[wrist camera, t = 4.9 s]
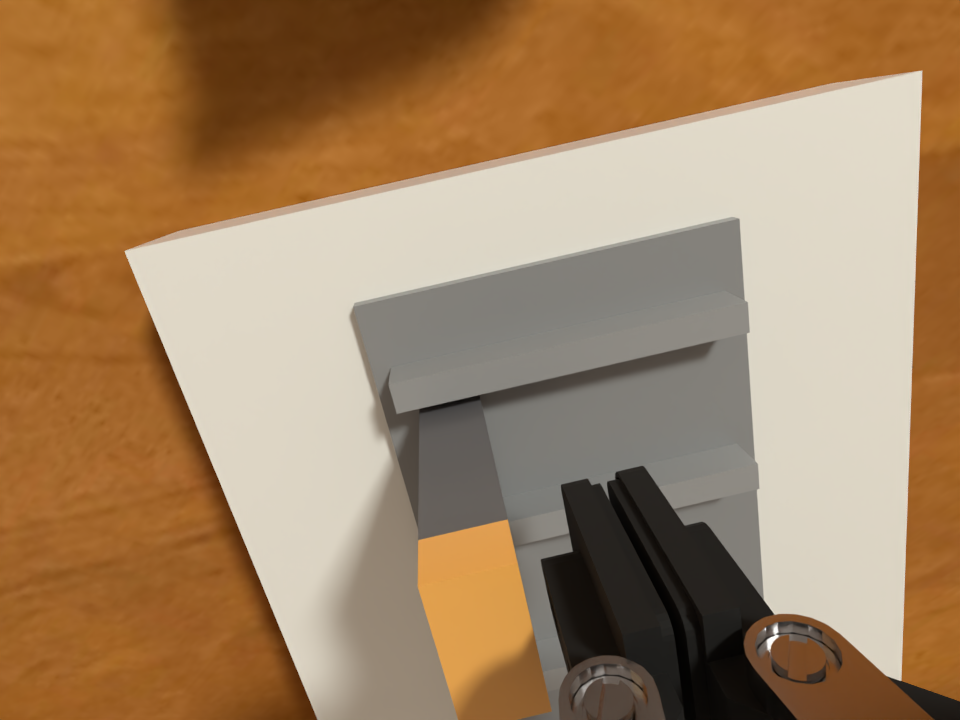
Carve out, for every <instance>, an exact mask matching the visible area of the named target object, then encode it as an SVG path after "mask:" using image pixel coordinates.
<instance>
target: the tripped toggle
mask: <svg viewBox="0 0 960 720" xmlns="http://www.w3.org/2000/svg"><path fill="white" fill-rule="evenodd" d="M418 590H419V593H420V596H421V599H422V603H423V606H424V609H425V613H426V616H427V619H428V622H429V626H430V629H431V632H432V636H433V639H434V642H435V645H436V649H437V652H438V655H439V659H440V662H441V665H442V668H443V672H444V675H445V678H446V682H447V685H448V688H449V691H450V695H451V698H452V701H453V705H454V708H455V711H456V714H457V718H458V720H518V719H522V718H527V717H531V716H535V715H539V714H543V713H548V712H552V710H551V706H550V701H549V697H548V692H547V688H546V684H545V679H544V675H543V670H542V666H541V662H540V657H539V653H538V648H537V644H536V640H535V635H534V631H533V627H532V622H531V618H530V613H529V609H528V605H527V600H526V596H525V591H524V587H523V583H522V578H521V574H520V569H519V565H518V561H517V556H516V552H515V547H514V543H513V539H512V534H511V530H510V525H509V521H508V517H507V512H506V508H505V504H504V499H503V495H502V490H501V486H500V482H499V477H498V473H497V469H496V464H495V460H494V456H493V451H492V447H491V443H490V438H489V434H488V430H487V425H486V421H485V417H484V412H483V408H482V404H481V399H480V395H477V396H473V397H468V398H464V399H460V400H455V401H451V402H447V403H442V404H438V405H434V406H429V407H425V408H421V409H419V501H418Z"/></svg>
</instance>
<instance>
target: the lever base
mask: <svg viewBox="0 0 960 720" xmlns="http://www.w3.org/2000/svg"><path fill="white" fill-rule="evenodd" d="M921 93H922V71H916V72H909V73H902V74H895V75H888V76H881V77H874V78H867V79H860V80H853V81H846V82H838V83H831V84H827V85H823V86H818V87H814V88H809V89H805V90H800V91H796V92H792V93H787V94H783V95H778V96H774V97H769V98H765V99H761V100H756V101H752V102H747V103H743V104H739V105H734V106H730V107H725V108H721V109H716V110H712V111H708V112H703V113H699V114H694V115H690V116H685V117H681V118H677V119H672V120H668V121H663V122H659V123H654V124H650V125H646V126H641V127H637V128H632V129H628V130H623V131H619V132H615V133H610V134H606V135H601V136H597V137H592V138H588V139H584V140H579V141H575V142H570V143H566V144H561V145H557V146H553V147H548V148H544V149H539V150H535V151H531V152H526V153H522V154H517V155H513V156H508V157H504V158H500V159H495V160H491V161H486V162H482V163H477V164H473V165H469V166H464V167H460V168H455V169H451V170H446V171H442V172H438V173H433V174H429V175H424V176H420V177H415V178H411V179H407V180H402V181H398V182H393V183H389V184H384V185H380V186H376V187H371V188H367V189H362V190H358V191H353V192H349V193H345V194H340V195H336V196H331V197H327V198H323V199H318V200H314V201H309V202H305V203H300V204H296V205H292V206H287V207H283V208H278V209H274V210H269V211H265V212H261V213H256V214H252V215H247V216H243V217H238V218H234V219H230V220H225V221H221V222H216V223H212V224H207V225H203V226H199V227H194V228H190V229H185V230H181V231H178V232H175V233H172V234H169V235H167V236H164V237H161V238H159V239H156V240H153V241H150V242H148V243H145V244H142V245H140V246H137V247H134V248H131V249H129V250H126V251H125V253H126V256H127V258H128V261H129V263H130V266H131V268H132V270H133V273H134V275H135V278H136V280H137V283H138V285H139V287H140V290H141V292H142V295H143V297H144V300H145V302H146V304H147V307H148V309H149V312H150V314H151V317H152V319H153V321H154V324H155V326H156V329H157V331H158V334H159V336H160V338H161V341H162V343H163V346H164V348H165V351H166V353H167V355H168V358H169V360H170V363H171V365H172V368H173V370H174V372H175V375H176V377H177V380H178V382H179V385H180V387H181V389H182V392H183V394H184V397H185V399H186V402H187V404H188V406H189V409H190V411H191V414H192V416H193V419H194V421H195V423H196V426H197V428H198V431H199V433H200V436H201V438H202V440H203V443H204V445H205V448H206V450H207V453H208V455H209V457H210V460H211V462H212V465H213V467H214V470H215V472H216V474H217V477H218V479H219V482H220V484H221V487H222V489H223V491H224V494H225V496H226V499H227V501H228V504H229V506H230V508H231V511H232V513H233V516H234V518H235V521H236V523H237V525H238V528H239V530H240V533H241V535H242V538H243V540H244V542H245V545H246V547H247V550H248V552H249V555H250V557H251V559H252V562H253V564H254V567H255V569H256V572H257V574H258V576H259V579H260V581H261V584H262V586H263V588H264V591H265V593H266V596H267V598H268V601H269V603H270V605H271V608H272V610H273V613H274V615H275V618H276V620H277V622H278V625H279V627H280V630H281V632H282V635H283V637H284V639H285V642H286V644H287V647H288V649H289V652H290V654H291V656H292V659H293V661H294V664H295V666H296V669H297V671H298V673H299V676H300V678H301V681H302V683H303V686H304V688H305V690H306V693H307V695H308V698H309V700H310V703H311V705H312V707H313V710H314V712H315V715H316V717H317V720H458V718H457V714H456V711H455V708H454V705H453V701H452V698H451V695H450V691H449V688H448V685H447V682H446V678H445V675H444V672H443V668H442V665H441V662H440V659H439V655H438V652H437V649H436V645H435V642H434V639H433V636H432V632H431V629H430V626H429V622H428V619H427V616H426V613H425V609H424V606H423V603H422V599H421V596H420V593H419V590H418V501H419V409H421V408H425V407H429V406H434V405H438V404H442V403H447V402H451V401H455V400H460V399H464V398H468V397H473V396H477V395H480V399H481V404H482V408H483V412H484V417H485V421H486V425H487V430H488V434H489V438H490V443H491V447H492V451H493V456H494V460H495V464H496V469H497V473H498V477H499V482H500V486H501V490H502V495H503V499H504V504H505V508H506V512H507V517H508V521H509V525H510V530H511V534H512V539H513V543H514V547H515V552H516V556H517V561H518V565H519V569H520V574H521V578H522V583H523V587H524V591H525V596H526V600H527V605H528V609H529V613H530V618H531V622H532V627H533V631H534V635H535V640H536V644H537V648H538V653H539V657H540V662H541V666H542V670H543V675H544V679H545V684H546V688H547V692H548V697H549V701H550V706H551V710H552V712H548V713H543V714H539V715H535V716H531V717H527V718H522V719H518V720H560V718H559V703H558V699H559V690H560V686H561V684H562V682H563V680H564V678H565V676H566V675H567V674H568V671H567V668H566V664H565V660H564V657H563V653H562V649H561V646H560V642H559V638H558V635H557V631H556V627H555V623H554V619H553V615H552V611H551V607H550V602H549V598H548V594H547V589H546V584H545V580H544V575H543V570H542V565H541V559H544V558H548V557H552V556H556V555H561V554H565V553H569V552H573V550H572V544H571V539H570V534H569V529H568V523H567V518H566V513H565V508H564V503H563V497H562V492H561V484H565V483H570V482H574V481H578V480H583V479H588V480H589V481H590V483H591V485H594V484H598V483H600V484H601V485H602V487H603V489H604V491H605V493H606V495H607V497H608V499H609V495H608V489H607V481H611V480H615V473H616V472H617V471H621V470H626V469H630V468H634V467H639V466H644V467H645V468H646V470H647V471H648V473H649V474H650V475H651V477H652V478H653V480H654V481H655V483H656V484H657V486H658V487H659V489H660V490H661V492H662V493H663V495H664V496H665V497H666V499H667V500H668V502H669V503H670V505H671V506H672V508H673V509H674V511H675V512H676V514H677V515H678V517H679V518H680V520H681V521H682V522H683V524H684V525H689V524H693V523H698V522H704V523H706V524H707V525H708V526H709V527H710V528H711V530H712V531H713V532H714V534H715V535H716V536H717V538H718V539H719V540H720V542H721V543H722V545H723V546H724V547H725V549H726V550H727V551H728V553H729V554H730V555H731V557H732V558H733V559H734V561H735V562H736V563H737V565H738V566H739V567H740V569H741V570H742V571H743V573H744V574H745V575H746V577H747V578H748V579H749V581H750V582H751V584H752V585H753V586H754V588H755V589H756V590H757V592H758V593H759V594H760V596H761V597H762V598H763V600H764V601H765V602H766V604H767V605H768V606H769V608H770V609H771V610H772V612H773V613H774V614H775V615H776V614H797V615H802V616H806V617H811V618H813V619H816V620H818V621H820V622H823V623H825V624H827V625H828V626H830V627H831V628H833V629H834V630H835V631H837V632H838V633H840V634H841V635H842V636H843V637H844V638H845V639H846V640H847V641H849V642H850V643H851V644H852V645H853V646H854V647H855V648H856V649H857V650H858V651H859V652H861V653H862V654H863V655H864V656H865V657H866V658H867V659H868V660H869V661H870V662H872V663H873V664H874V665H875V666H876V667H877V668H878V669H879V670H880V671H881V672H882V673H884V674H885V675H886V676H888V677H891V678H894V679H896V680H899V681H901V674H902V644H903V615H904V586H905V557H906V528H907V499H908V470H909V441H910V412H911V383H912V354H913V325H914V296H915V267H916V238H917V209H918V180H919V151H920V122H921Z"/></svg>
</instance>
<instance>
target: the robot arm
mask: <svg viewBox="0 0 960 720" xmlns="http://www.w3.org/2000/svg"><path fill="white" fill-rule="evenodd" d="M607 489H608V495H609V499H608V497H607V495H606V493H605V491H604V489H603V487H602V485H601V484H600V483H598V484H594V485H591V483H590V481H589V480H588V479H583V480H578V481H574V482H570V483H565V484H561V492H562V497H563V503H564V508H565V513H566V518H567V523H568V529H569V534H570V539H571V544H572V550H573V552H569V553H565V554H561V555H556V556H552V557H548V558H544V559H541V565H542V570H543V575H544V580H545V584H546V589H547V594H548V598H549V602H550V607H551V611H552V615H553V619H554V623H555V627H556V631H557V635H558V638H559V642H560V646H561V649H562V653H563V657H564V660H565V664H566V668H567V671H568V674H567V675H566V676H565V678H564V680H563V682H562V684H561V686H560V690H559V699H558V703H559V718H560V720H960V701H957V700H954V699H951V698H948V697H945V696H942V695H940V694H937V693H934V692H931V691H928V690H925V689H922V688H919V687H917V686H914V685H911V684H908V683H905V682H902V681H899V680H896V679H894V678H891V677H888V676H886V675H885V674H884V673H882V672H881V671H880V670H879V669H878V668H877V667H876V666H875V665H874V664H873V663H872V662H870V661H869V660H868V659H867V658H866V657H865V656H864V655H863V654H862V653H861V652H859V651H858V650H857V649H856V648H855V647H854V646H853V645H852V644H851V643H850V642H849V641H847V640H846V639H845V638H844V637H843V636H842V635H841V634H840V633H838V632H837V631H835V630H834V629H833V628H831V627H830V626H828V625H827V624H825V623H823V622H820V621H818V620H816V619H813V618H811V617H806V616H802V615H797V614H776V615H775V614H774V613H773V612H772V610H771V609H770V608H769V606H768V605H767V604H766V602H765V601H764V600H763V598H762V597H761V596H760V594H759V593H758V592H757V590H756V589H755V588H754V586H753V585H752V584H751V582H750V581H749V579H748V578H747V577H746V575H745V574H744V573H743V571H742V570H741V569H740V567H739V566H738V565H737V563H736V562H735V561H734V559H733V558H732V557H731V555H730V554H729V553H728V551H727V550H726V549H725V547H724V546H723V545H722V543H721V542H720V540H719V539H718V538H717V536H716V535H715V534H714V532H713V531H712V530H711V528H710V527H709V526H708V525H707V524H706V523H704V522H698V523H693V524H689V525H684V524H683V522H682V521H681V520H680V518H679V517H678V515H677V514H676V512H675V511H674V509H673V508H672V506H671V505H670V503H669V502H668V500H667V499H666V497H665V496H664V495H663V493H662V492H661V490H660V489H659V487H658V486H657V484H656V483H655V481H654V480H653V478H652V477H651V475H650V474H649V473H648V471H647V470H646V468H645V467H644V466H639V467H634V468H630V469H626V470H621V471H617V472H616V473H615V480H611V481H607Z"/></svg>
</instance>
